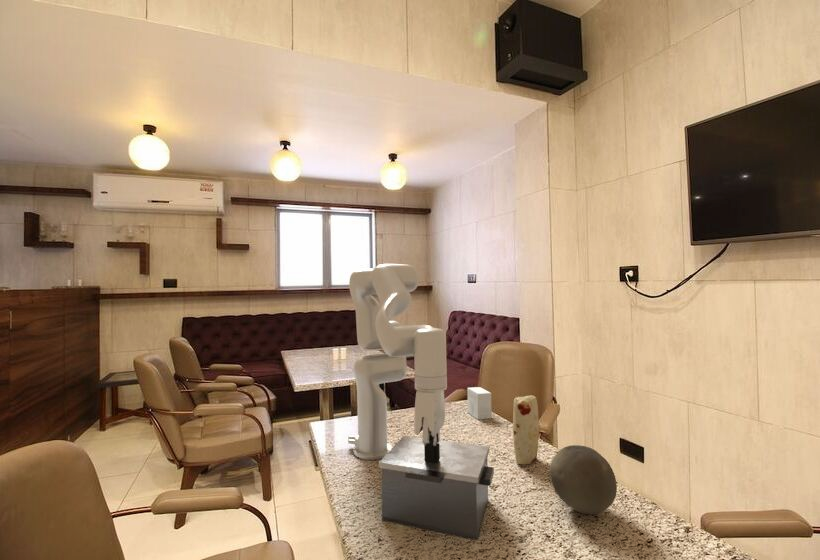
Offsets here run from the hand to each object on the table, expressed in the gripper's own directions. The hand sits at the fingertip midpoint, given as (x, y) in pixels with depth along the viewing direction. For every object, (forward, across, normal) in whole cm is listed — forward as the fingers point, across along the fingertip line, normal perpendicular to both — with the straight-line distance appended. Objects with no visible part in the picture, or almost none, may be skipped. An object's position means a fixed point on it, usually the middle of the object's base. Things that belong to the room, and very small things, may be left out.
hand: (432, 461), depth 88 cm
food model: (+14, -37, +19) cm, 44 cm away
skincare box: (+13, -75, -2) cm, 76 cm away
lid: (+1, -3, 0) cm, 3 cm away
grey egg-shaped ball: (+14, -14, +33) cm, 38 cm away
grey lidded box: (+13, -4, 0) cm, 14 cm away
